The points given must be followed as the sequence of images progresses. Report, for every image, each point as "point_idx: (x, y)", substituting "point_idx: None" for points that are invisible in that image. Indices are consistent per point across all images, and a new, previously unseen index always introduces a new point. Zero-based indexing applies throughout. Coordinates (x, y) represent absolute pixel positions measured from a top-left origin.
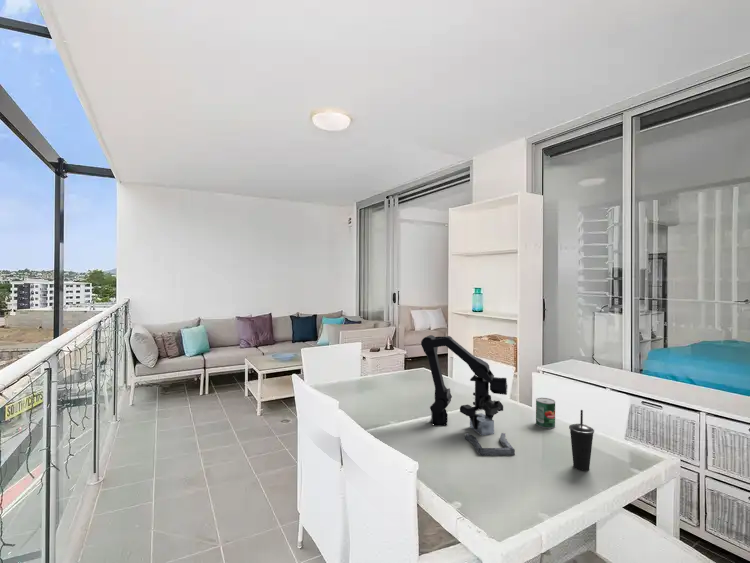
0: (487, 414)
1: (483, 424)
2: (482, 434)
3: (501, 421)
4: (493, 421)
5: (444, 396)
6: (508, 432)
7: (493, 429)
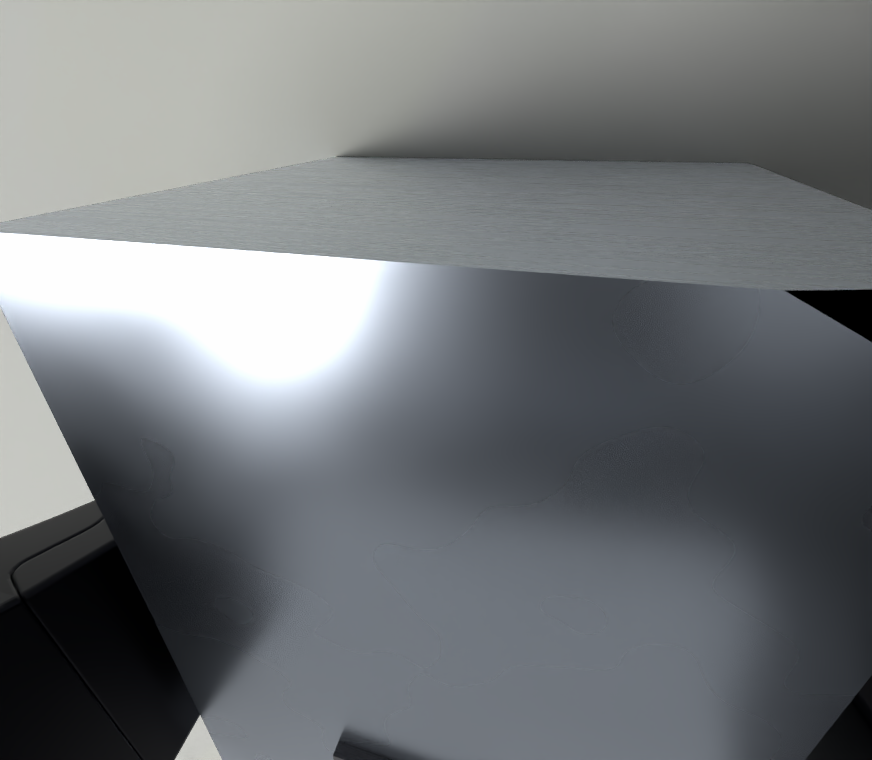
0: (111, 720)
1: (762, 240)
2: (714, 164)
3: (65, 497)
4: (39, 223)
5: None
6: (16, 102)
7: (289, 166)
